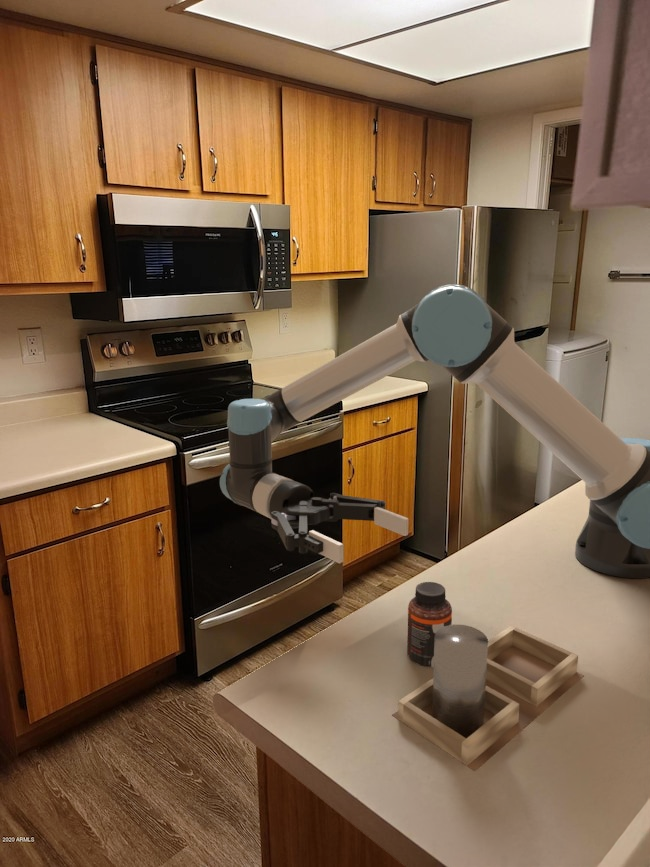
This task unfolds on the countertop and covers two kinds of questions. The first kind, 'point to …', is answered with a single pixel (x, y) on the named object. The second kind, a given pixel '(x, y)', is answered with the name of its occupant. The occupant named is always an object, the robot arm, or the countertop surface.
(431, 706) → the wooden divided tray
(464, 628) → the billet
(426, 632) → the supplement bottle
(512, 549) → the countertop surface
